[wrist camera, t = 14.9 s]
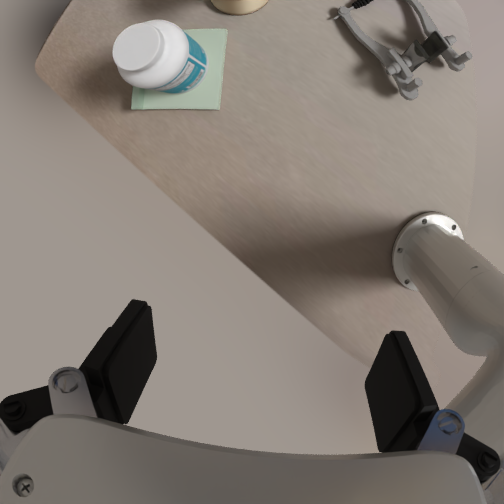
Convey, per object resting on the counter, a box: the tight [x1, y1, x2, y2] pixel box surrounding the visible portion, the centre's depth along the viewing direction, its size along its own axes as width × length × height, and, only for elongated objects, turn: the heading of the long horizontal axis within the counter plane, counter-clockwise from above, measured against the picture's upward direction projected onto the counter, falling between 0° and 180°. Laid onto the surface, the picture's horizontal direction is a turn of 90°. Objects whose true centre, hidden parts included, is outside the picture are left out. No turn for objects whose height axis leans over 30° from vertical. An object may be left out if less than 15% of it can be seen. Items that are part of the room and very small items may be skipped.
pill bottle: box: [112, 20, 209, 94], centre depth 26 cm, size 8×7×14 cm
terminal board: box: [131, 29, 228, 110], centre depth 32 cm, size 11×11×3 cm
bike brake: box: [333, 0, 472, 100], centre depth 26 cm, size 14×7×20 cm
